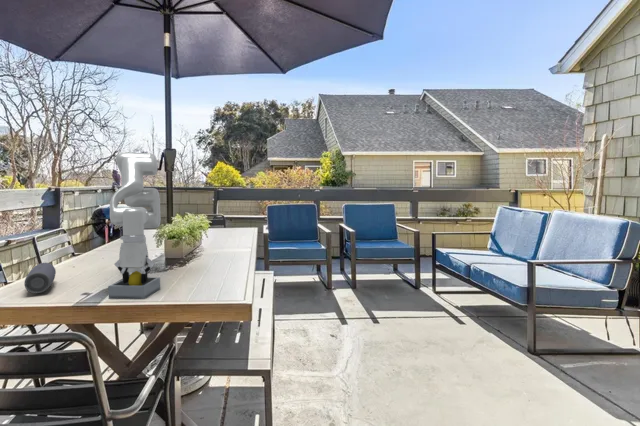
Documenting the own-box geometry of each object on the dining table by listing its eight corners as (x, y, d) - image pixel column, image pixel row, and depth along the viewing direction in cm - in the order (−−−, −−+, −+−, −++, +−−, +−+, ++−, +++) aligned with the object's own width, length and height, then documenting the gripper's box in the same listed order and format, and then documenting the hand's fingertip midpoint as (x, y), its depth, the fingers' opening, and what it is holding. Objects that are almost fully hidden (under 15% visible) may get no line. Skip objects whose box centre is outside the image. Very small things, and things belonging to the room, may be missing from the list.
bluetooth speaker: (31, 284, 166) (30, 262, 166) (57, 282, 171) (56, 260, 170) (23, 298, 147) (21, 273, 146) (52, 294, 152) (50, 270, 151)
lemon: (131, 289, 156) (132, 270, 156) (145, 289, 156) (145, 270, 157) (125, 291, 150) (126, 271, 151) (139, 291, 151) (140, 271, 151)
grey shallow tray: (108, 298, 146) (108, 286, 146) (127, 288, 160) (127, 277, 160) (144, 299, 146) (143, 286, 146) (160, 288, 160) (159, 277, 160)
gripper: (106, 240, 148) (108, 285, 149) (150, 240, 148) (152, 285, 149) (117, 237, 155) (119, 280, 157) (159, 237, 155) (160, 280, 157)
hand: (135, 282), depth 153 cm, fingers open, 6 cm apart
